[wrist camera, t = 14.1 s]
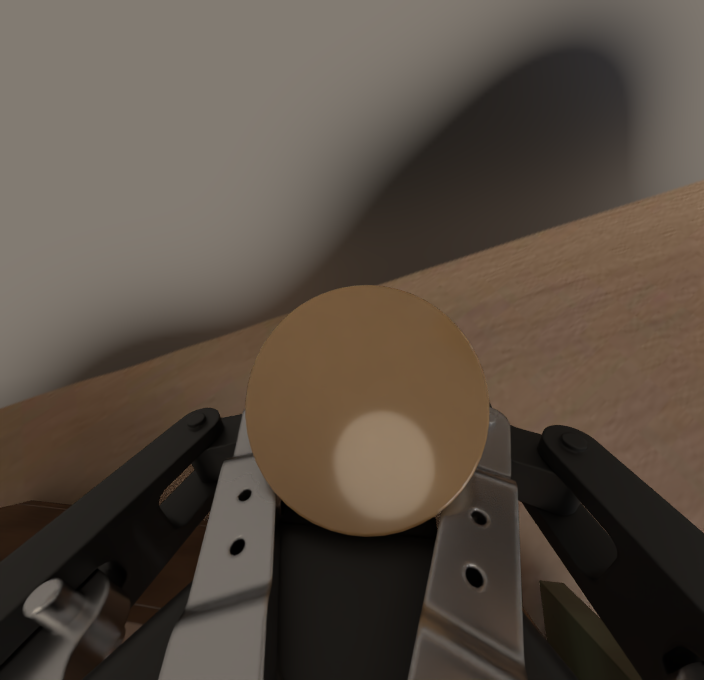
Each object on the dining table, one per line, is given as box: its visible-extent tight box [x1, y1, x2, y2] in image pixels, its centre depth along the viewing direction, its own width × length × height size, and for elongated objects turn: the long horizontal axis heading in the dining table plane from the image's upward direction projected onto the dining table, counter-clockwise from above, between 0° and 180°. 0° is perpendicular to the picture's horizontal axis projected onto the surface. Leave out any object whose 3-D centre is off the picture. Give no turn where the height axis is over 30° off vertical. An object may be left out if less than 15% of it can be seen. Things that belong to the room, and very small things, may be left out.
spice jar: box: [245, 285, 490, 537], centre depth 10 cm, size 5×5×10 cm
